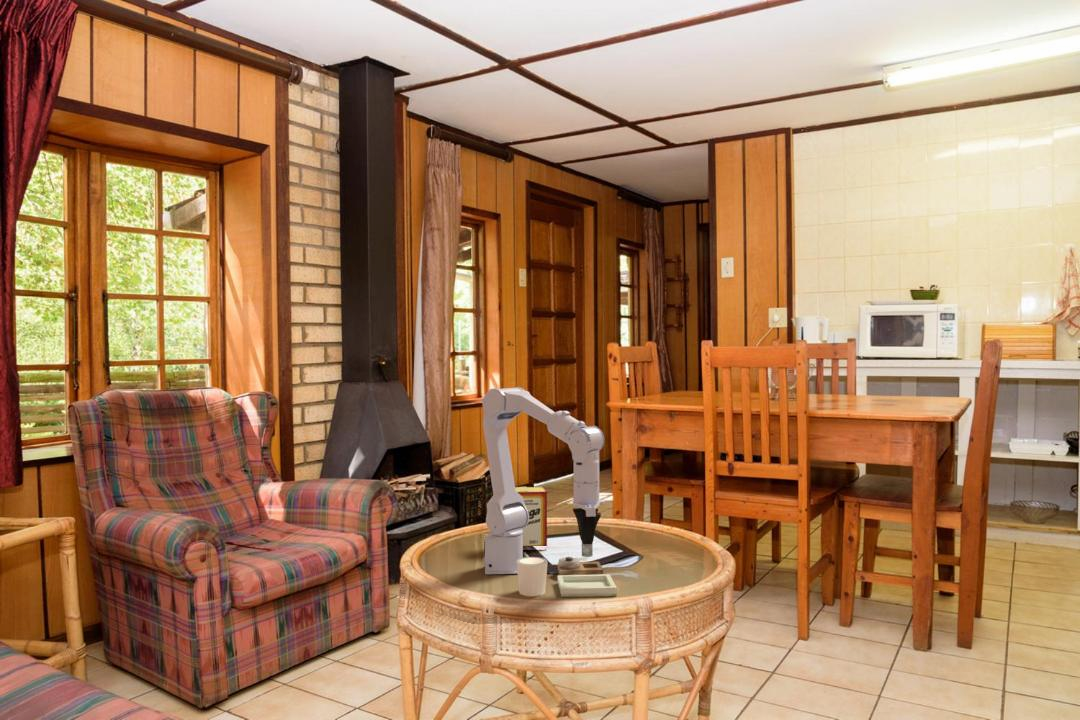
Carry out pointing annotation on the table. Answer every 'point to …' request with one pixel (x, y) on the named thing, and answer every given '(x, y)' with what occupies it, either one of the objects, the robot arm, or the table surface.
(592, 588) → the tray
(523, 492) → the baking soda box
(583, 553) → the pin
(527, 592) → the cream cylinder
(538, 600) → the table surface
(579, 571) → the block
